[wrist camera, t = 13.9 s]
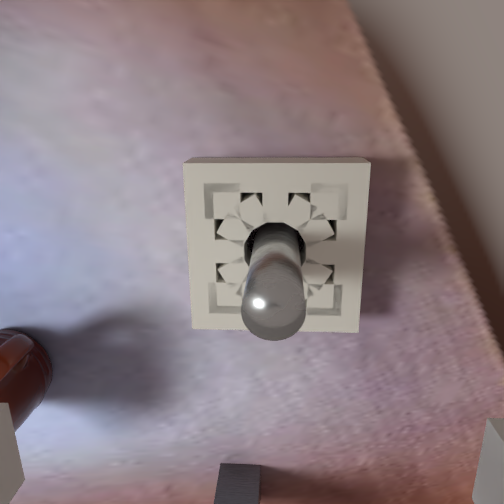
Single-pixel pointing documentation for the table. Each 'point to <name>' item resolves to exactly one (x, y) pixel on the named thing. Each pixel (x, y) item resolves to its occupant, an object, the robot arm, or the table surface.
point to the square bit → (238, 484)
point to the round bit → (274, 284)
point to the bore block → (277, 210)
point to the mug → (22, 374)
